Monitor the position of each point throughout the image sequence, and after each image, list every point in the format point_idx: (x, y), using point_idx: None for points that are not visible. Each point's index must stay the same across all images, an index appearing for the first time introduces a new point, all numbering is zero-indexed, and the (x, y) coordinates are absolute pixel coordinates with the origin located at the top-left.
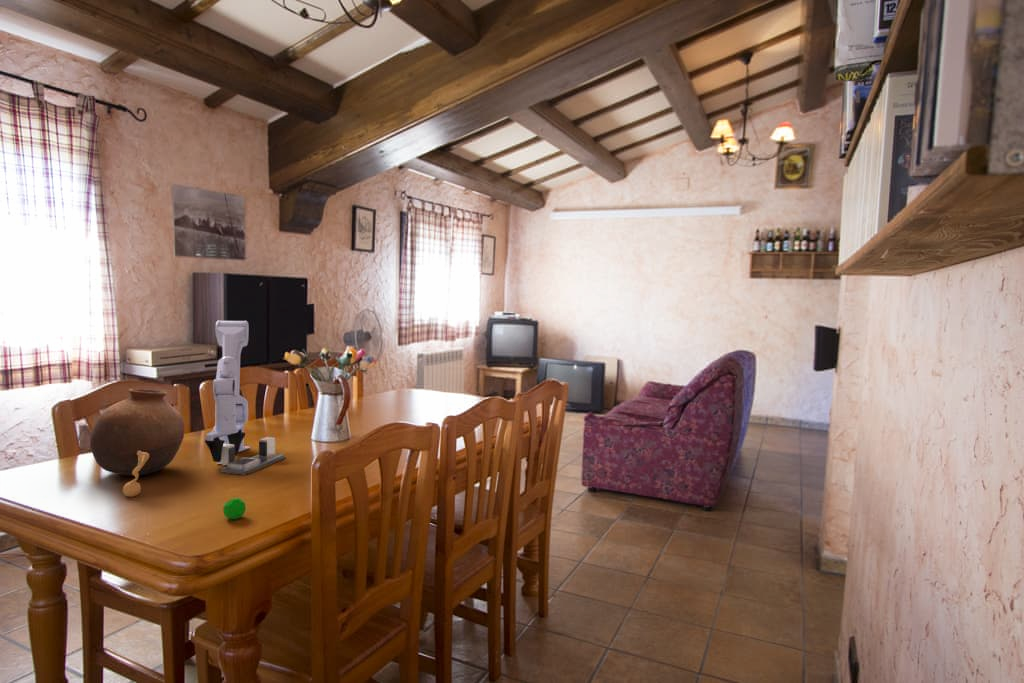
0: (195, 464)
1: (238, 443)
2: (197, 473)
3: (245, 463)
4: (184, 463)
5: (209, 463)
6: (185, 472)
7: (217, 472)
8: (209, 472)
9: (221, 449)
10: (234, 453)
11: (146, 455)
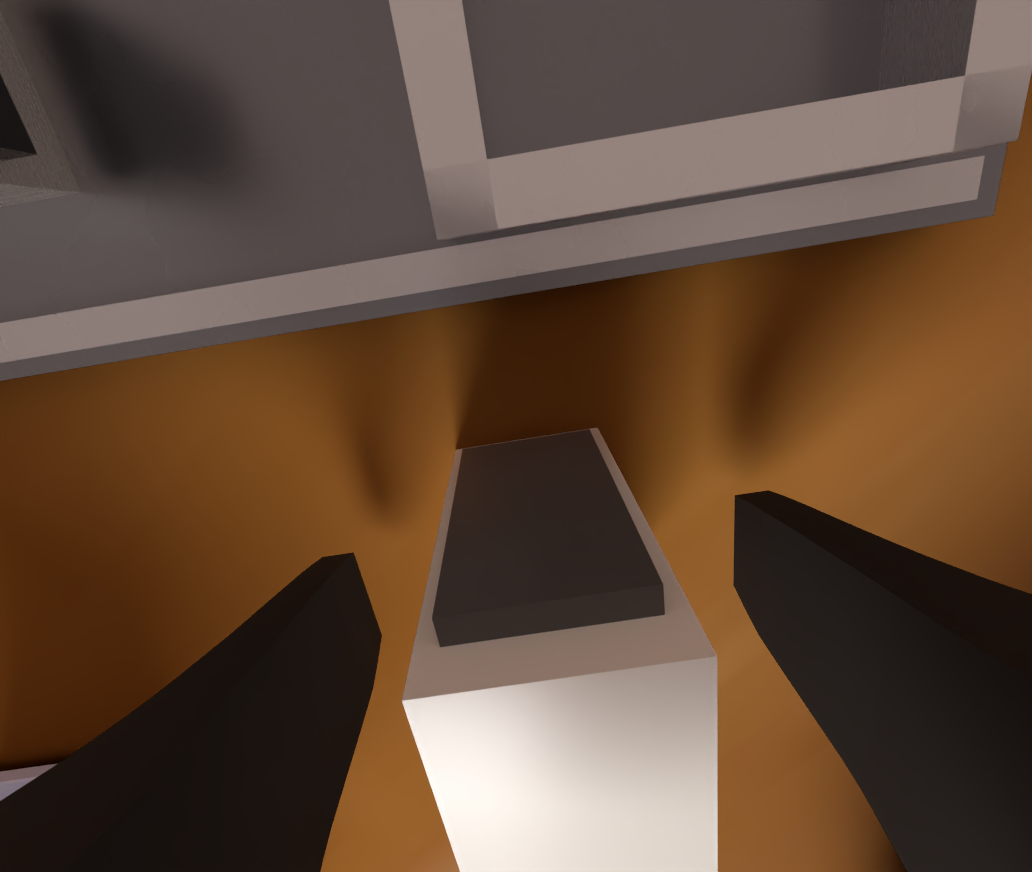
0: None
1: (201, 733)
2: (1027, 477)
3: (509, 109)
4: None
5: None
6: None
7: (937, 283)
8: (958, 385)
9: (960, 619)
10: (467, 509)
11: None
